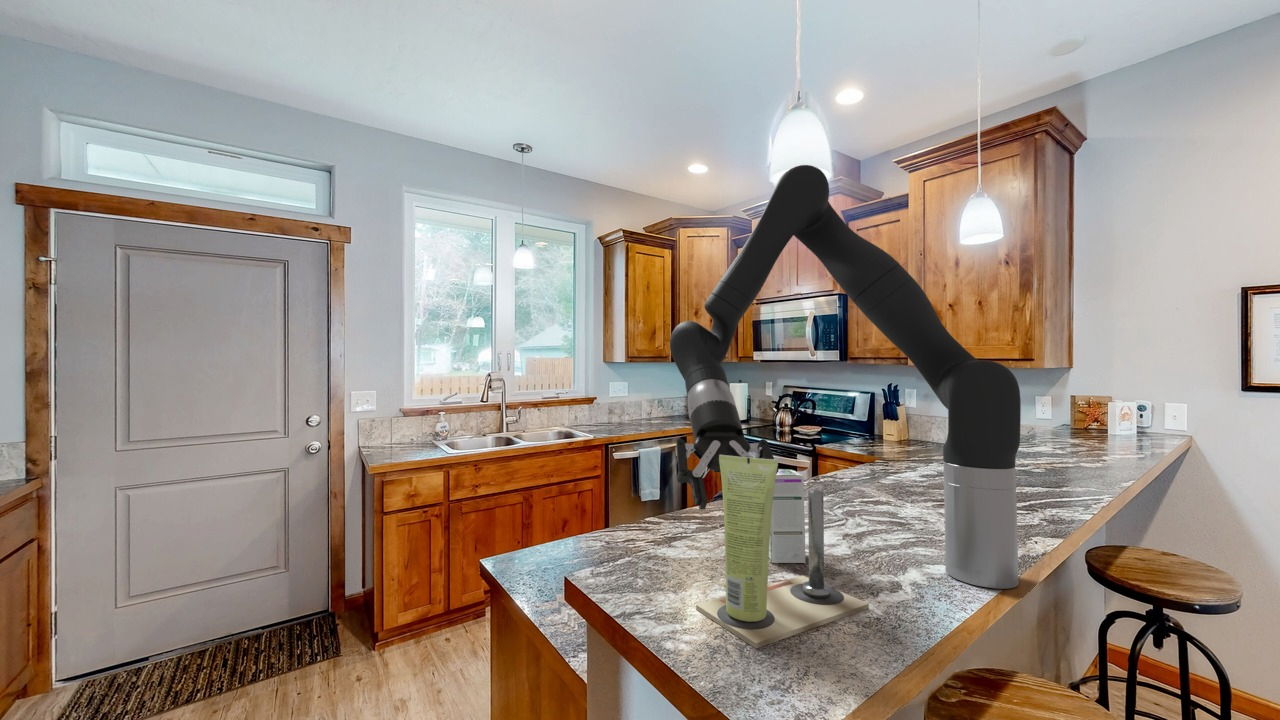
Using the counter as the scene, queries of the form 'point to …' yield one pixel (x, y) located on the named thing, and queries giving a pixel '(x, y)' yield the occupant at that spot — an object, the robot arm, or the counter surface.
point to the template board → (784, 612)
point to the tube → (747, 533)
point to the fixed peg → (816, 547)
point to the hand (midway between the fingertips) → (734, 506)
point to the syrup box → (788, 519)
